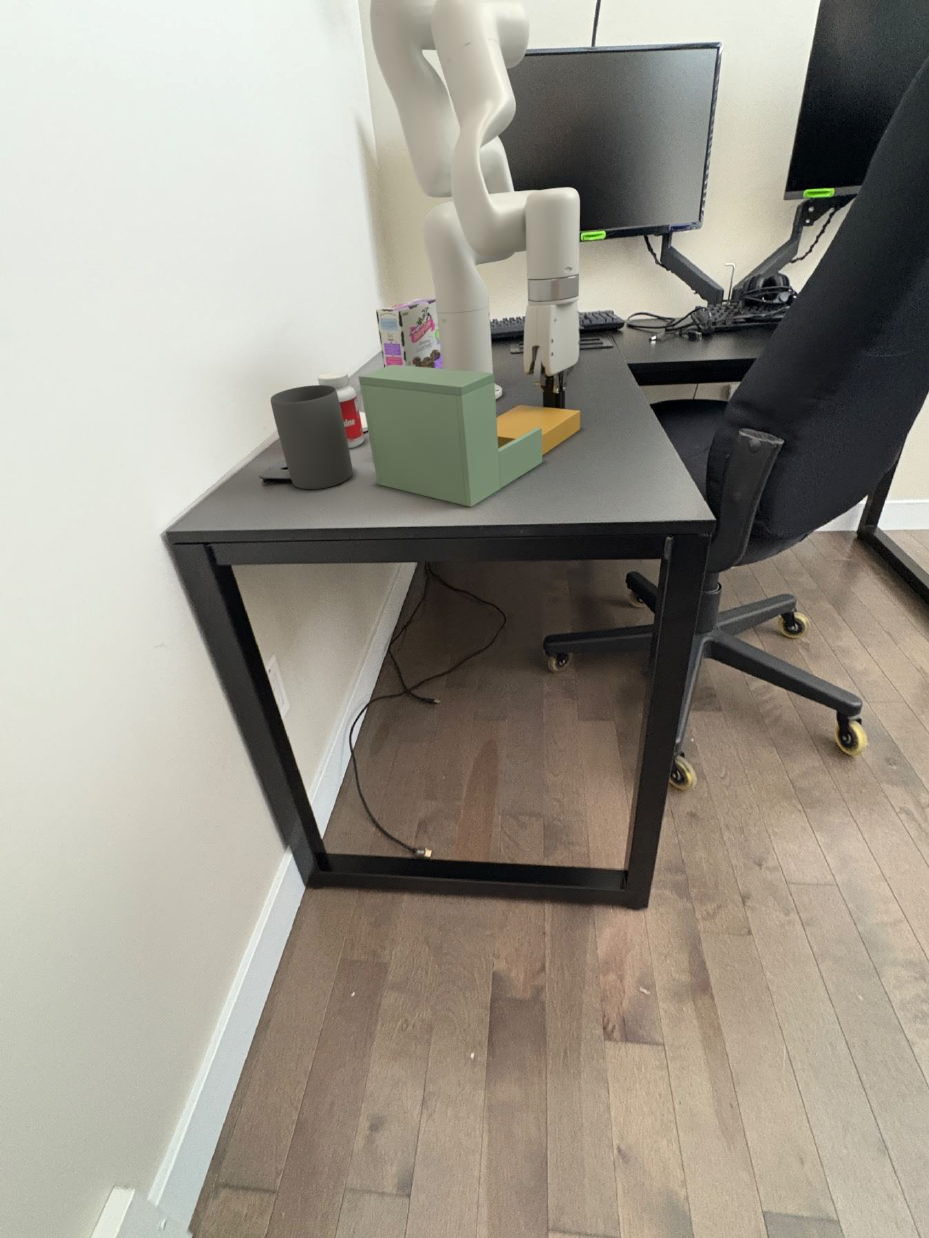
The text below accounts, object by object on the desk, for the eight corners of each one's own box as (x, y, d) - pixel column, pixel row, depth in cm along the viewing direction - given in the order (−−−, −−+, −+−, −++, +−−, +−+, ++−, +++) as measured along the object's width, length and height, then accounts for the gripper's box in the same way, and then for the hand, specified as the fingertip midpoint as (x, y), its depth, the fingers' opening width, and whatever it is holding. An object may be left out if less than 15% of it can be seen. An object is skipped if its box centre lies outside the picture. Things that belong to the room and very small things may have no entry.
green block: (452, 446, 94) (442, 347, 86) (542, 462, 85) (541, 353, 77) (377, 484, 84) (358, 376, 76) (471, 507, 75) (460, 387, 67)
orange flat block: (520, 422, 101) (519, 404, 100) (579, 429, 96) (580, 410, 94) (470, 452, 92) (469, 432, 90) (533, 461, 86) (533, 440, 84)
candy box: (410, 401, 119) (398, 309, 109) (387, 399, 122) (373, 309, 112) (448, 383, 128) (440, 297, 119) (426, 382, 131) (416, 297, 122)
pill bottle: (325, 452, 98) (309, 381, 91) (330, 440, 103) (316, 372, 96) (362, 448, 97) (349, 377, 91) (366, 436, 103) (354, 368, 96)
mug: (366, 474, 88) (350, 389, 81) (313, 495, 83) (291, 407, 76) (315, 456, 96) (297, 378, 89) (265, 475, 91) (241, 393, 84)
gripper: (556, 284, 95) (556, 402, 106) (503, 299, 86) (510, 427, 96) (599, 283, 91) (595, 405, 102) (549, 298, 82) (551, 432, 92)
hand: (554, 415), depth 99 cm, fingers closed
